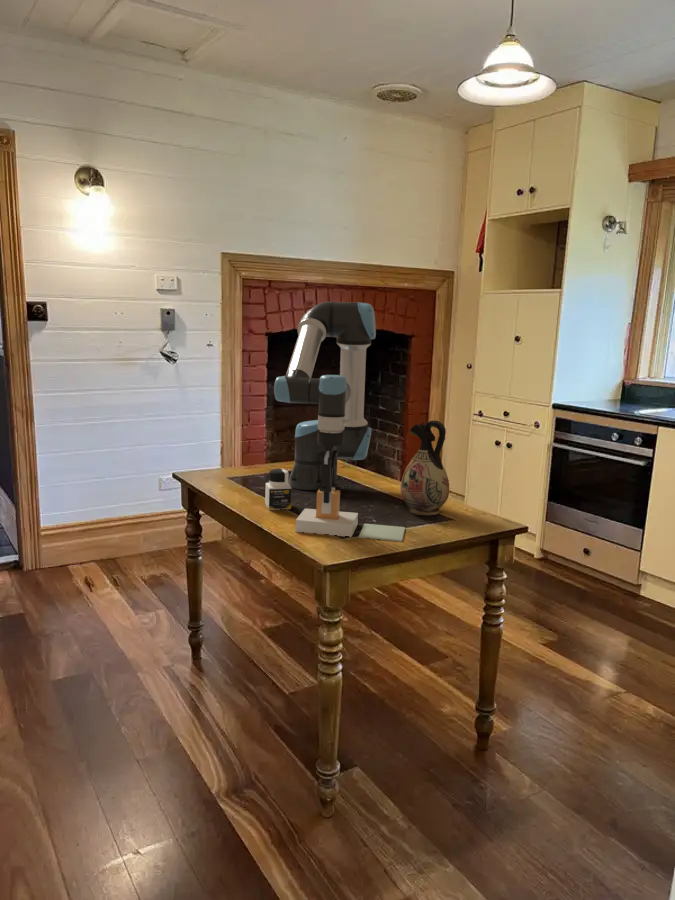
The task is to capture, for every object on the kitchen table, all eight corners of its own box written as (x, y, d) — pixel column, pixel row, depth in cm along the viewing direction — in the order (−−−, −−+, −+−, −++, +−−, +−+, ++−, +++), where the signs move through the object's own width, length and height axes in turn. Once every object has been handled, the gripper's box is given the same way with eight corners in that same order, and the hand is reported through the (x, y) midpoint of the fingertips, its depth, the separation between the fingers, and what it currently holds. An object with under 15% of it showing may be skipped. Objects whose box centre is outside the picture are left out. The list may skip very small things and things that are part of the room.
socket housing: (304, 519, 204) (304, 508, 204) (357, 524, 202) (358, 513, 201) (295, 531, 193) (295, 519, 192) (351, 537, 190) (352, 525, 189)
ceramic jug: (389, 511, 217) (394, 417, 211) (416, 502, 228) (422, 413, 222) (434, 523, 206) (441, 425, 200) (461, 513, 218) (468, 420, 212)
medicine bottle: (268, 510, 212) (269, 472, 210) (265, 504, 219) (265, 467, 217) (291, 509, 214) (292, 472, 212) (286, 503, 221) (287, 467, 219)
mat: (364, 525, 201) (364, 523, 201) (405, 528, 200) (405, 527, 199) (358, 537, 190) (358, 536, 190) (401, 541, 188) (402, 540, 188)
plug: (318, 525, 200) (319, 488, 197) (338, 527, 199) (340, 490, 197) (315, 529, 196) (316, 492, 194) (336, 531, 195) (337, 493, 193)
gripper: (339, 436, 183) (335, 520, 187) (348, 426, 199) (345, 504, 204) (311, 434, 184) (308, 518, 189) (323, 425, 200) (320, 502, 205)
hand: (327, 510), depth 196 cm, fingers closed on plug, 4 cm apart
